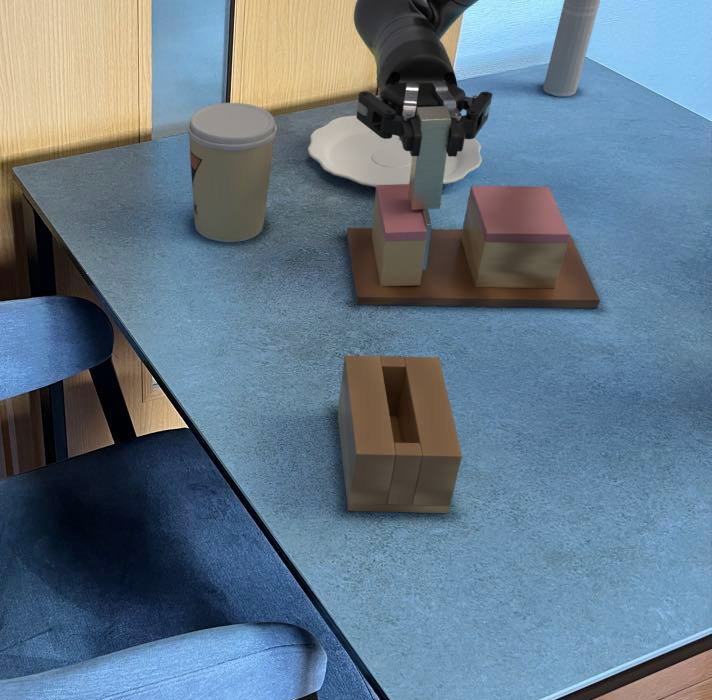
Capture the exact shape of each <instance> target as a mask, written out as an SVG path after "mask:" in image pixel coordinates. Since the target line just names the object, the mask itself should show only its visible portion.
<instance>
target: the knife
mask: <svg viewBox="0 0 712 700" xmlns="http://www.w3.org/2000/svg"><path fill="white" fill-rule="evenodd" d="M416 119H417V120H418V124H419V127H420V129H421V132H422V141H421V148H420V154H419V156H412V162H411V172H410V181H409V191H408V197H409V202H410V206H411V209H412V210H417V209H421V210H422V214H423V218H424V222H425V226H426V230H427V235H426V243H425V252H424V260H423V268H422V270H426V268H427V260H428V252H429V243H430V235H431V229H432V227H433V224H432V223H433V222H432V220H431V216H430V211H429V210H440V208H441V202H442V196H443V195H442V193H443V186H444V184H443V179H444V171H445V164H446V156H447V147H448V140H449V132H450V124H451V118H450V115H449V112H448V109H447V106H437V107H417V113H416Z"/></svg>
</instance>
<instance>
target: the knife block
mask: <svg viewBox="0 0 712 700" xmlns="http://www.w3.org/2000/svg"><path fill="white" fill-rule="evenodd" d="M440 359H441V358H440V357H439V356H401V355H400V356H399V355H344V359H343V365H342V374H341V380H340V389H339V395H338V396H339V397H338V404H337V418H338V428H339V437H340V438H339V439H340V447H341V448H340V449H341V457H342V466H343V467H342V468H343V476H344V485H345V495H346V504H347V505H346V506H347V511H348V512H376V513H377V512H381V513H382V512H383V513H415V514H417V513H421V514H449V513H450V508H451V504H452V499H453V495H454V492H455V487H456V482H457V480H458V475H459V471H460V466H461V463H462V459H463V454H462V450H461V445H460V440H459V437H458V432H457V429H456V423H455V419H454V415H453V411H452V407H451V403H450V397H449V393H448V389H447V385H446V381H445V377H444V372H443V368H442V364H441V360H440Z"/></svg>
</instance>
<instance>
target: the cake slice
mask: <svg viewBox="0 0 712 700" xmlns="http://www.w3.org/2000/svg"><path fill="white" fill-rule="evenodd" d="M408 191H409V184H396V185H376V187H375V194H374V208H373V217H372V218H373V219H372V228H373V230H372V240H373V246H374V252H375V257H376V263H377V269H378V274H379V280H380V286H409V285H421V276H422V268H423V260H424V252H425V243H426V235H427V230H426V226H425V222H424V218H423V214H422V210H421V209H417V210H412V209H411V206H410V202H409V197H408Z"/></svg>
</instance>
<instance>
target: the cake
mask: <svg viewBox="0 0 712 700" xmlns="http://www.w3.org/2000/svg"><path fill="white" fill-rule="evenodd" d="M465 209H466V210H465V214H464V219H463V223H462V224H463V225H462V229H461V228H460V229H458V228H454V229H453V228H431V235H430V243H429V252H428V260H427V268H426V270H422V276H421V285H409V286H380V280H379V274H378V269H377V263H376V257H375V252H374V246H373V240H372V230H373V227H347V229H346V241H347V248H348V255H349V263H350V270H351V277H352V283H353V291H354V298H355V305H360V306H363V305H364V306H415V307H416V306H423V307H477V308H478V307H480V308H481V307H483V308H484V307H485V308H486V307H487V308H490V307H491V308H545V309H547V308H548V309H549V308H550V309H554V308H555V309H598V307H599V304H600V300H601V299H600V297H599V295H598V292H597V290H596V288H595V286H594V284H593V282H592V279H591V277H590V275H589V273H588V271H587V268H586V266H585V264H584V262H583V260H582V257H581V255H580V253H579V250H578V248H577V246H576V244H575V242H574V239H573V237H572V235H571V233H570V231H569V228H568V226H567V224H566V222H565V220H564V217H563V215H562V213H561V211H560V209H559V206H558V204H557V202H556V200H555V197H554V195H553V193H552V191H551V188H550V187H549V186H534V185H533V186H529V185H528V186H527V185H526V186H523V185H517V186H516V185H471V186H470V189H469V196H468V199H467V204H466V208H465Z"/></svg>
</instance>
